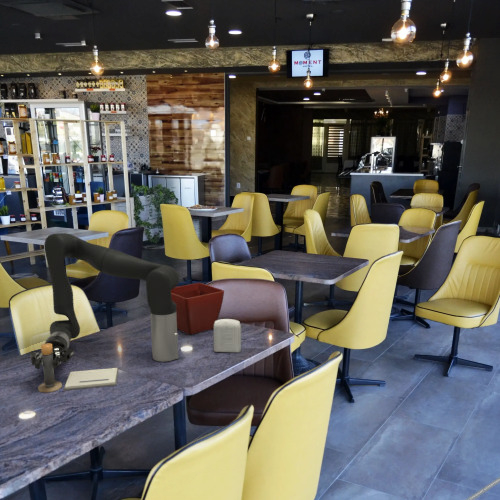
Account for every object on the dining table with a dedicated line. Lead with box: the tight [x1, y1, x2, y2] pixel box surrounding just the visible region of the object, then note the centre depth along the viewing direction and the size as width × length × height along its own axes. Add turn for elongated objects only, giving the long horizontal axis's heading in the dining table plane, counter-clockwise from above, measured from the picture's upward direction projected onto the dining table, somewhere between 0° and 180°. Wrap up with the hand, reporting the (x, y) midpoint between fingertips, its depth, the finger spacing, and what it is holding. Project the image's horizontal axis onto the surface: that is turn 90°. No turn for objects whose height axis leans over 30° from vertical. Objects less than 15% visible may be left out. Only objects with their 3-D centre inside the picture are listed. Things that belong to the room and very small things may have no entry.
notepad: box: [63, 367, 120, 391], centre depth 161 cm, size 16×12×1 cm
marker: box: [40, 343, 56, 388], centre depth 155 cm, size 3×3×14 cm
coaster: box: [37, 380, 63, 394], centre depth 156 cm, size 7×7×1 cm
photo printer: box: [213, 318, 242, 353], centre depth 183 cm, size 10×4×12 cm, turn 86°
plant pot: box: [171, 282, 225, 335], centre depth 208 cm, size 19×19×17 cm
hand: (46, 365), depth 152 cm, fingers open, 4 cm apart
